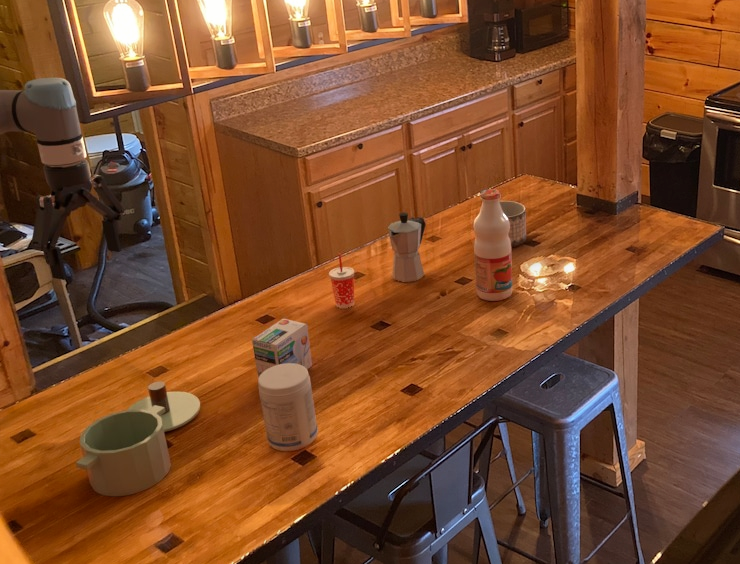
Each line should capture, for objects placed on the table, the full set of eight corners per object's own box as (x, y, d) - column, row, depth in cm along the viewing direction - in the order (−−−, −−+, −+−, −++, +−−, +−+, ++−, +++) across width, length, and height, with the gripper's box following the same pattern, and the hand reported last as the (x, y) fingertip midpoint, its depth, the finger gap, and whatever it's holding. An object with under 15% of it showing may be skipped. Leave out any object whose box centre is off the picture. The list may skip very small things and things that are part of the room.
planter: (531, 235, 280) (531, 203, 276) (518, 253, 269) (517, 219, 264) (491, 231, 283) (489, 199, 278) (476, 248, 271) (474, 214, 267)
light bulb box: (282, 389, 204) (275, 345, 199) (257, 382, 206) (250, 339, 201) (313, 365, 213) (308, 322, 208) (289, 359, 215) (283, 317, 211)
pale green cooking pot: (61, 496, 171) (49, 452, 167) (139, 437, 187) (130, 396, 184) (122, 512, 167) (111, 468, 163) (196, 451, 183) (188, 409, 180)
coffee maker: (408, 288, 248) (402, 224, 241) (380, 281, 251) (374, 219, 244) (440, 266, 260) (436, 205, 253) (413, 260, 264) (409, 200, 256)
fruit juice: (484, 283, 251) (479, 184, 240) (518, 288, 249) (514, 187, 237) (470, 299, 243) (465, 196, 231) (505, 304, 240) (501, 200, 229)
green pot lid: (106, 428, 190) (99, 397, 187) (159, 390, 203) (153, 361, 200) (166, 442, 186) (159, 411, 183) (216, 403, 198) (210, 373, 195)
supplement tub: (297, 419, 193) (288, 356, 187) (328, 435, 188) (320, 371, 182) (257, 442, 186) (246, 378, 180) (288, 459, 181) (278, 394, 175)
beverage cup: (327, 304, 239) (321, 254, 234) (348, 296, 244) (342, 246, 238) (342, 312, 236) (336, 261, 230) (362, 303, 240) (357, 253, 234)
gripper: (23, 185, 166) (50, 293, 175) (131, 144, 188) (150, 242, 197) (-9, 180, 169) (19, 287, 177) (101, 140, 190) (121, 237, 199)
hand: (88, 264), depth 187 cm, fingers open, 13 cm apart
